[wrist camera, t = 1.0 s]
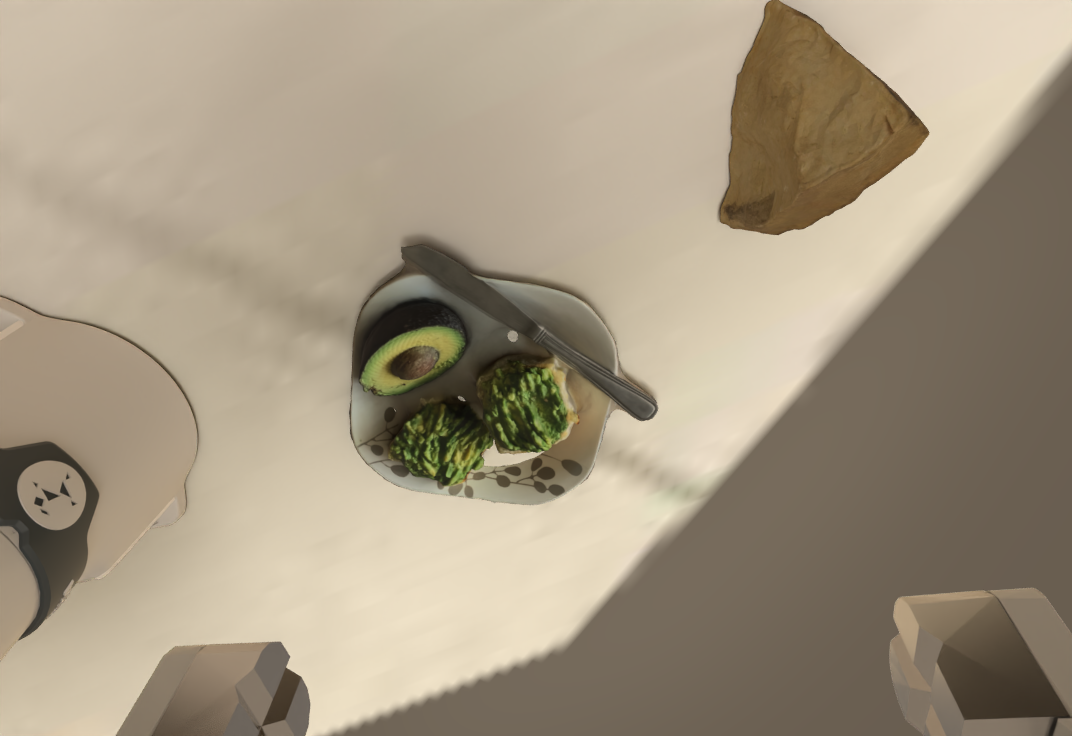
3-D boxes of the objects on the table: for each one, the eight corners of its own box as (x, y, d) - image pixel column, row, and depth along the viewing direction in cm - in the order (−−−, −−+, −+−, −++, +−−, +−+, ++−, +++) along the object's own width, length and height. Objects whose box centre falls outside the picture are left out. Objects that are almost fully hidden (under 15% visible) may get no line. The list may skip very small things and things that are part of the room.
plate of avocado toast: (689, 283, 42) (703, 315, 38) (618, 511, 51) (623, 557, 47) (366, 223, 41) (345, 249, 37) (349, 466, 50) (330, 510, 45)
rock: (784, 289, 39) (949, 155, 34) (733, 293, 32) (932, 125, 27) (668, 151, 42) (804, 8, 37) (598, 126, 35) (755, -54, 30)
